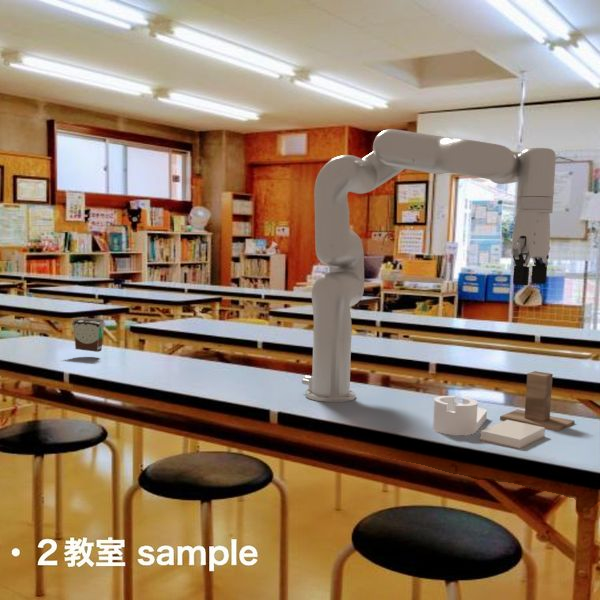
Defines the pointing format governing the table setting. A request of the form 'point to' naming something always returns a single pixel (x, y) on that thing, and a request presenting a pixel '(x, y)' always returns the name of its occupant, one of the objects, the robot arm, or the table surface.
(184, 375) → the table surface
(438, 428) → the bracket
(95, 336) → the food container
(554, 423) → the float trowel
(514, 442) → the glazed tile
